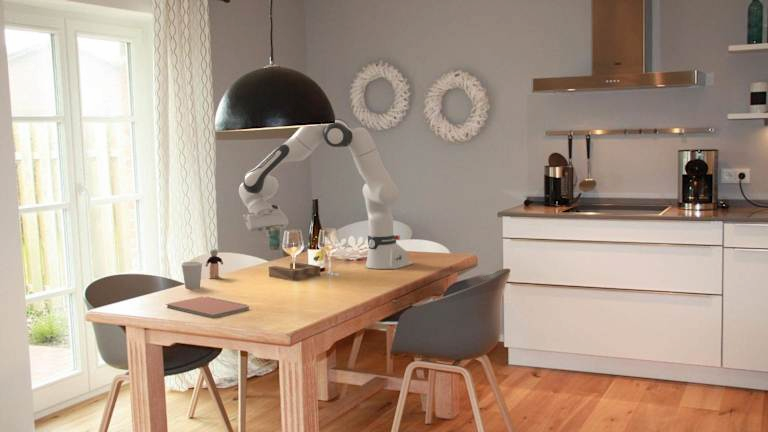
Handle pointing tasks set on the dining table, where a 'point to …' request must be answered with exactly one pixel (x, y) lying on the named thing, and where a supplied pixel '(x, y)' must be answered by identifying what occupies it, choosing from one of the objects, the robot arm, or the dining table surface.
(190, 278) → the dixie cup
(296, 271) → the dark brown square block
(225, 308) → the notebook
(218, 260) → the grandmother figurine
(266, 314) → the dining table surface
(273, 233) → the teal drink can
